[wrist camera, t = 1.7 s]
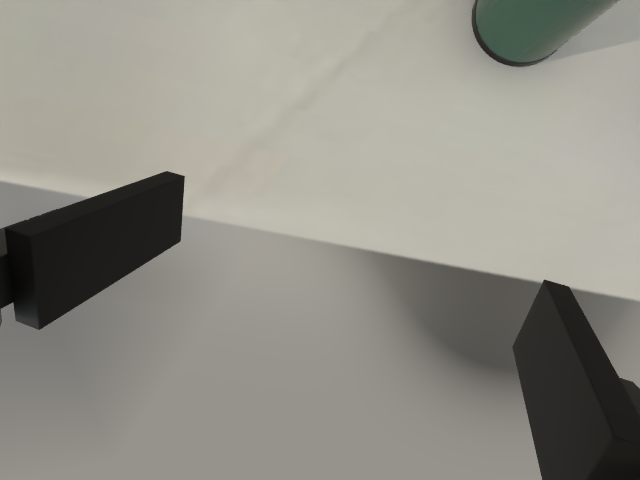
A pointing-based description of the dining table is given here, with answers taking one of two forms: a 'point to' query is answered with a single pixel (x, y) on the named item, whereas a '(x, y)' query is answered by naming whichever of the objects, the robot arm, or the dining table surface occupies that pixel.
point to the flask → (531, 26)
